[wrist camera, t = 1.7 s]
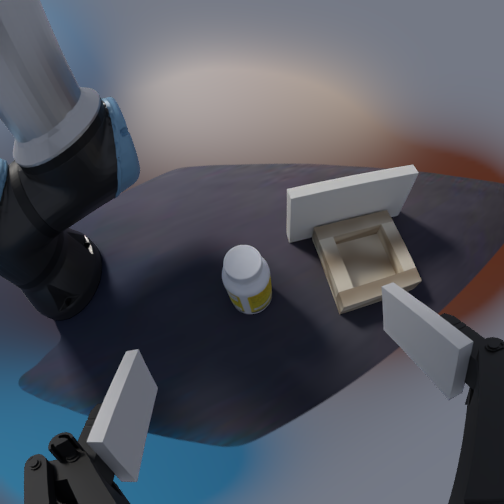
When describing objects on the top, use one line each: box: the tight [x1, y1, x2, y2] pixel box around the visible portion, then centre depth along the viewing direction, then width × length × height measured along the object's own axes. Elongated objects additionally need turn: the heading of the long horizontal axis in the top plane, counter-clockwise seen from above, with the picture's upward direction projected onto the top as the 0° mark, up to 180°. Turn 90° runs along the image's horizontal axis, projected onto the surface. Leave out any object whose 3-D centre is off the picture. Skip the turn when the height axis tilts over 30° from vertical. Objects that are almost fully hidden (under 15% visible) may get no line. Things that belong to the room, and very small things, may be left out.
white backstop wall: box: [287, 165, 418, 243], centre depth 39 cm, size 2×18×10 cm, turn 103°
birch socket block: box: [312, 210, 422, 314], centre depth 39 cm, size 12×12×3 cm
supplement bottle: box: [222, 245, 272, 314], centre depth 35 cm, size 5×5×10 cm
